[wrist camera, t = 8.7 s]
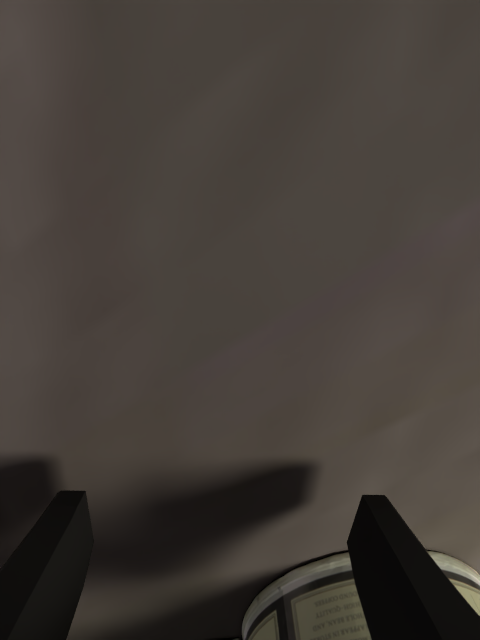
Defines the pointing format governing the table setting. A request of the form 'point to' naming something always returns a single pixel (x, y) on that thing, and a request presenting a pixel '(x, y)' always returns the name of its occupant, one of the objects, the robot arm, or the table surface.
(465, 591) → the coffee can
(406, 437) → the table surface
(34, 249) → the table surface
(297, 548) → the table surface
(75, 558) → the robot arm
